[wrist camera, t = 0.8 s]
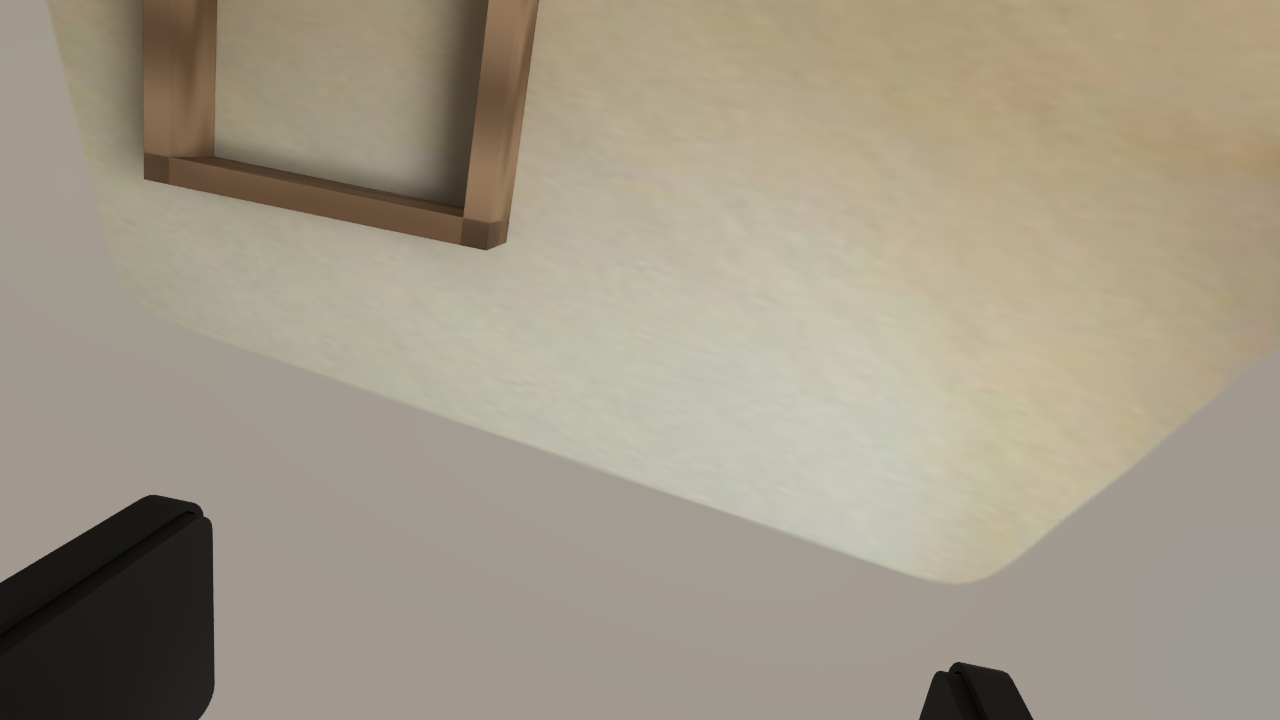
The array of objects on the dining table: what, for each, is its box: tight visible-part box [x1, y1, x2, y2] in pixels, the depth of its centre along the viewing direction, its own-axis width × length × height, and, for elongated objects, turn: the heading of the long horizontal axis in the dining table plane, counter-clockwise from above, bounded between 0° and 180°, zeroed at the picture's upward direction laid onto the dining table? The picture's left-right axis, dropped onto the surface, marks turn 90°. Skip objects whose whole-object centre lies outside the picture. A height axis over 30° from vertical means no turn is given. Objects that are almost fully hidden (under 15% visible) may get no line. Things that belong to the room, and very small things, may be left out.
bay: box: [143, 0, 539, 250], centre depth 33 cm, size 13×16×3 cm
